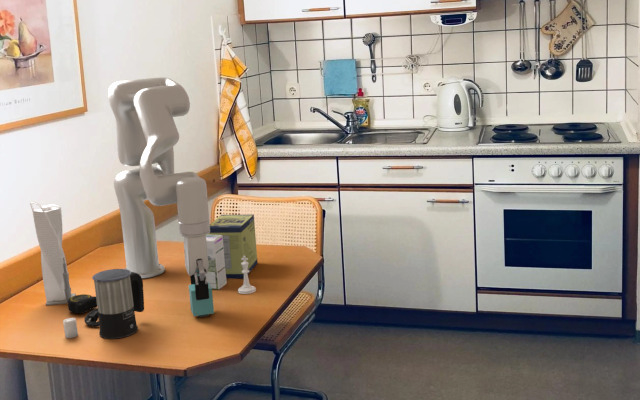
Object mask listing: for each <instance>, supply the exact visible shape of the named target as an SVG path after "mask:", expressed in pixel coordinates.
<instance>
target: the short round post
mask: <svg viewBox="0 0 640 400" xmlns="http://www.w3.org/2000/svg"><path fill="white" fill-rule="evenodd" d="M62 324H63V331H64V337H65V339H74V338H76V337H78V336H79V333H78V332H79V331H78V326H77V318H75V317H68V318H65V319H63V321H62Z"/></svg>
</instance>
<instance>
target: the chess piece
mask: <svg viewBox="0 0 640 400" xmlns="http://www.w3.org/2000/svg"><path fill="white" fill-rule="evenodd" d="M241 260H244V262H242V263H241V265H242V267H243V269H244V270H242V273H244V279H243V284H242V285H241V286H240V287H239V288H238V289H237V293H239V294H242V295H248V294H249V295H250V294H253V293H255V292H256V291H257V288H256V286H253V285H251V284H250V280H249V274H247V273H248V272H249V270H247V268H248V264H249V263H248V262H246V260H248V258H245V256H243V258H241Z"/></svg>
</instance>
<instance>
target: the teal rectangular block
mask: <svg viewBox="0 0 640 400" xmlns="http://www.w3.org/2000/svg"><path fill="white" fill-rule="evenodd" d="M207 283H208V290H209V299H204V300H196V294H195V284H192V285H191V284H188V292H189V293H188V294H189V304H190V311H191V313H192V316H193V317H198V316H199V315H206V314H208V315H211V314H215V308H214V307H215V306H214V297H213V289H212V287H211V285H210V283H209V282H207Z"/></svg>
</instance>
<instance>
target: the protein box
mask: <svg viewBox="0 0 640 400" xmlns="http://www.w3.org/2000/svg"><path fill="white" fill-rule="evenodd" d="M255 223H256V222H255V214H221V215H219V216H218V217H217V218H216V219H215V220H214V221H212V222H211V223H210V233H209V234H207V235H222V236H223V247H224V260H225V271H226V280H227V279H230V280H232V279H237V280H238V279H240V280H241V279H243V280H244V273H242V270H244V269H243V267H242V265H241V263H242V262H244V260H241V258H243V256H245V258H248V260H246V262H248V263H249V264H248V268H247V270H249V272H248V273H247V274H248V275H249V273H251V271H252V270H253V269H254V268H255V267H256V266H257V265H258V250H257V238H256V237H257V236H256V226H255Z"/></svg>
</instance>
